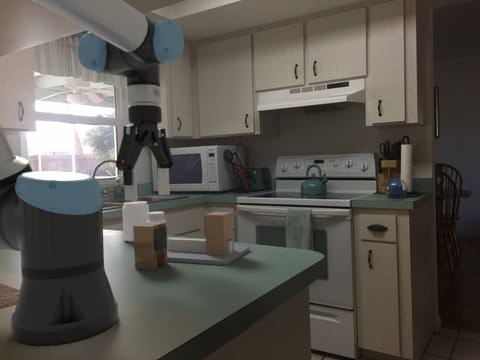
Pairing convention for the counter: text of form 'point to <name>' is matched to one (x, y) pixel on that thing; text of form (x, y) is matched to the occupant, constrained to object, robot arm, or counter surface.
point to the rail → (208, 243)
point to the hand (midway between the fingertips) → (148, 197)
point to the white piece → (133, 217)
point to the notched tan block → (150, 245)
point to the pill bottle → (156, 217)
